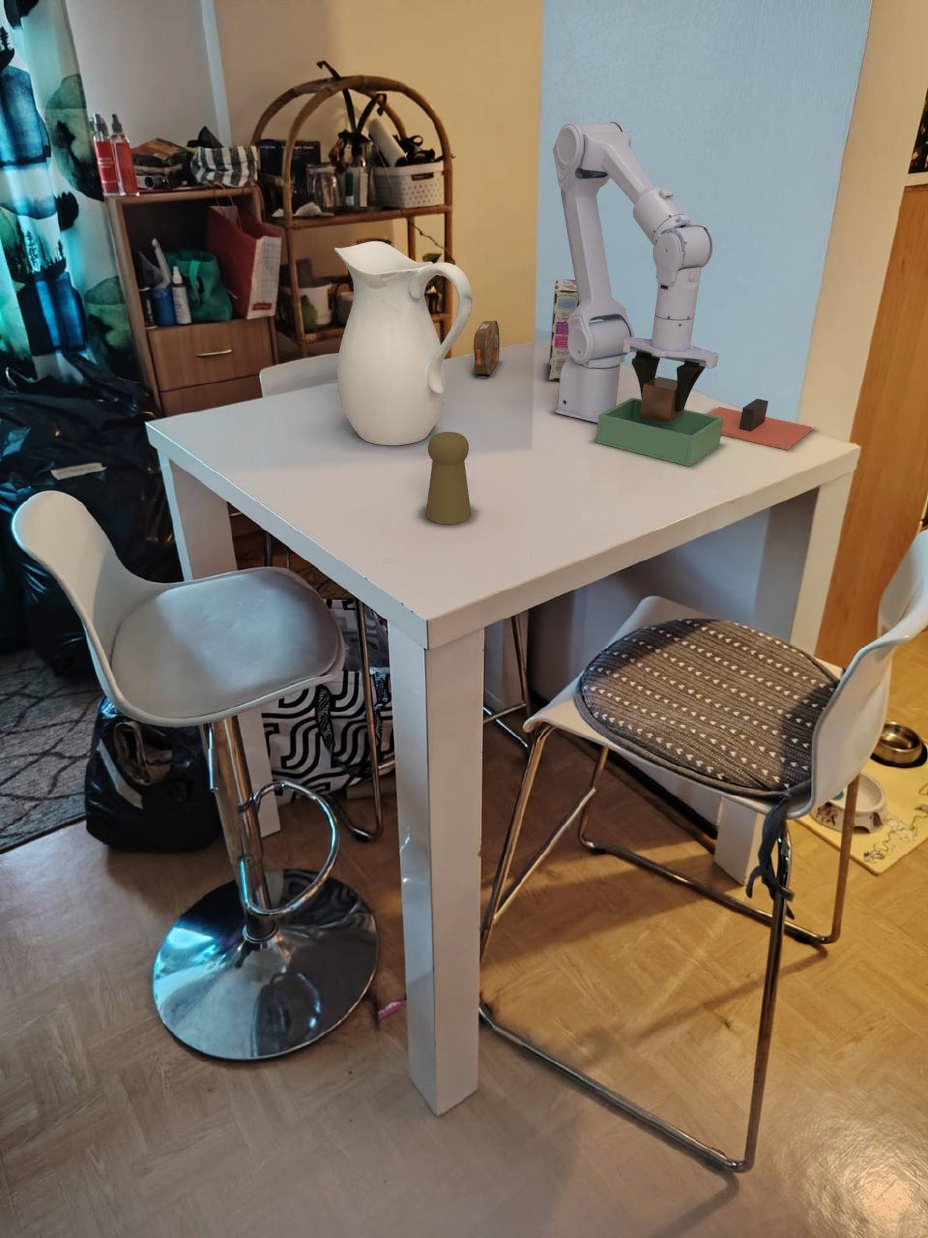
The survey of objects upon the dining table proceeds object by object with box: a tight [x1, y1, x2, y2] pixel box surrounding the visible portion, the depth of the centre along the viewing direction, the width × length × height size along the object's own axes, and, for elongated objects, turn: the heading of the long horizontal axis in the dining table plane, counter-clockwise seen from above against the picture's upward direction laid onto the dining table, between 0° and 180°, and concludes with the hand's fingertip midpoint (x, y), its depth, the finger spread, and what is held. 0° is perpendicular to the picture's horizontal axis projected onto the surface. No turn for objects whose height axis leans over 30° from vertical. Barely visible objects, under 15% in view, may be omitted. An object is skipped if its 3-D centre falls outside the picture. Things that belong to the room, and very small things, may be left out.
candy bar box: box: [548, 278, 579, 382], centre depth 168 cm, size 11×5×16 cm, turn 174°
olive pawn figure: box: [425, 431, 472, 525], centre depth 115 cm, size 6×6×11 cm
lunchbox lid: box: [706, 398, 813, 451], centre depth 146 cm, size 16×11×4 cm
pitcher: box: [333, 240, 473, 446], centre depth 134 cm, size 24×17×28 cm
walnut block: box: [640, 376, 685, 422], centre depth 137 cm, size 5×5×5 cm
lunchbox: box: [595, 397, 724, 467], centre depth 140 cm, size 16×11×4 cm
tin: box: [473, 320, 500, 376], centre depth 172 cm, size 15×3×8 cm, turn 168°
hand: (662, 406), depth 138 cm, fingers closed on walnut block, 5 cm apart
